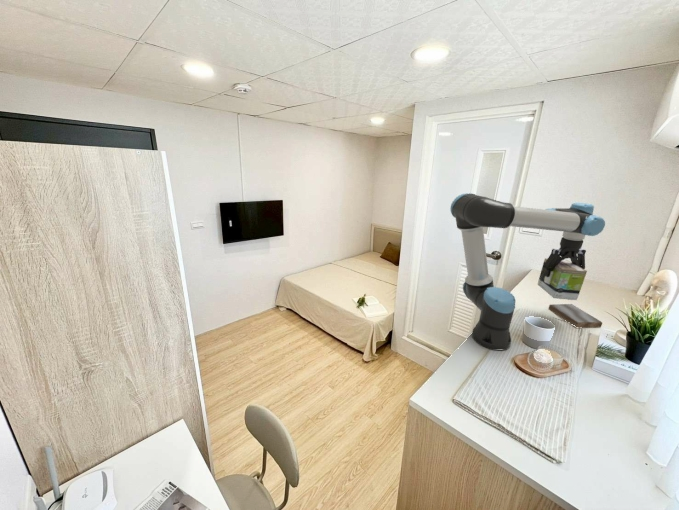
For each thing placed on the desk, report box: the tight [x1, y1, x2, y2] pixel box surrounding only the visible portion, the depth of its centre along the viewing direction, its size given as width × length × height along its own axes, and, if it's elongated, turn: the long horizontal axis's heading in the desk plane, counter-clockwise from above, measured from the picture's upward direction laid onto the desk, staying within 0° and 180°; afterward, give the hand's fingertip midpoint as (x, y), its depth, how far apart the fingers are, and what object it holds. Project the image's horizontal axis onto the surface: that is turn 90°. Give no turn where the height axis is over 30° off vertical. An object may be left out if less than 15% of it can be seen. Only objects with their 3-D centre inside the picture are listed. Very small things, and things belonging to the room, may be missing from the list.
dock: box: [548, 303, 603, 329], centre depth 131 cm, size 12×17×3 cm
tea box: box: [537, 258, 588, 301], centre depth 123 cm, size 15×10×15 cm, turn 169°
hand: (558, 282), depth 123 cm, fingers closed on tea box, 11 cm apart
